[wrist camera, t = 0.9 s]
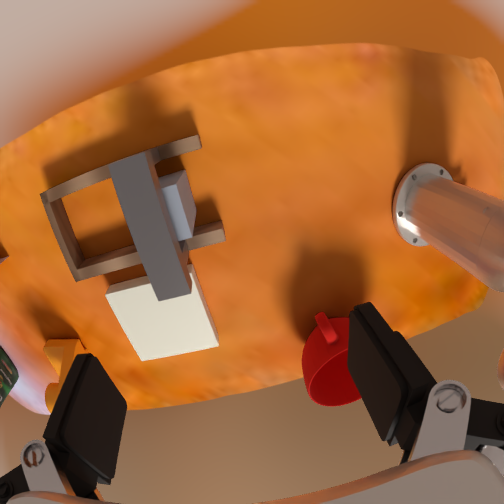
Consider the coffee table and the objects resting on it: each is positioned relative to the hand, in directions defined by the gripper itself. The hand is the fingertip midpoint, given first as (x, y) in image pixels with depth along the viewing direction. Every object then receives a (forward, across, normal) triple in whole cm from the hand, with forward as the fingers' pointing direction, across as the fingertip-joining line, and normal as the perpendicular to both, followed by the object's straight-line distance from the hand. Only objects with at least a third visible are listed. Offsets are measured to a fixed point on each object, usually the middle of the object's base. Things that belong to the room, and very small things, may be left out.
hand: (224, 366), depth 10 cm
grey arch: (+23, +5, -1) cm, 24 cm away
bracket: (+26, +30, +21) cm, 45 cm away
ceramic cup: (+27, -12, +23) cm, 37 cm away
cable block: (+26, +6, -1) cm, 27 cm away
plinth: (+26, +11, +14) cm, 32 cm away
